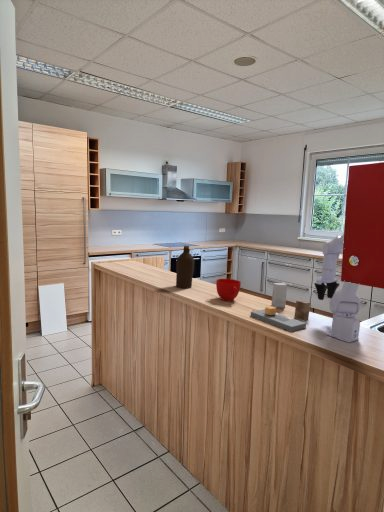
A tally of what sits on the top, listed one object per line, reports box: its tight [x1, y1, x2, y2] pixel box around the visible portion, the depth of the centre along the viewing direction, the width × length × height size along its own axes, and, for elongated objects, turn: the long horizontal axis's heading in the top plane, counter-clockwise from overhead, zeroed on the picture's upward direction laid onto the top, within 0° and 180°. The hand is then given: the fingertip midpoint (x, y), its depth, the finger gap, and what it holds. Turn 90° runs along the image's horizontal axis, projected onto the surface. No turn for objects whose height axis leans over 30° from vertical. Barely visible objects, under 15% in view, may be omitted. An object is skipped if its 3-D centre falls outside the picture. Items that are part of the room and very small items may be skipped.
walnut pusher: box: [294, 299, 311, 321], centre depth 151 cm, size 5×4×8 cm
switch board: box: [250, 308, 307, 332], centre depth 144 cm, size 22×10×2 cm, turn 37°
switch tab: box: [264, 305, 278, 315], centre depth 146 cm, size 3×4×3 cm
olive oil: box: [175, 245, 195, 289], centre depth 198 cm, size 11×11×25 cm
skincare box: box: [271, 282, 288, 309], centre depth 168 cm, size 6×4×12 cm
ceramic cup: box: [215, 278, 242, 302], centre depth 174 cm, size 13×17×10 cm
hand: (325, 298), depth 148 cm, fingers open, 7 cm apart
